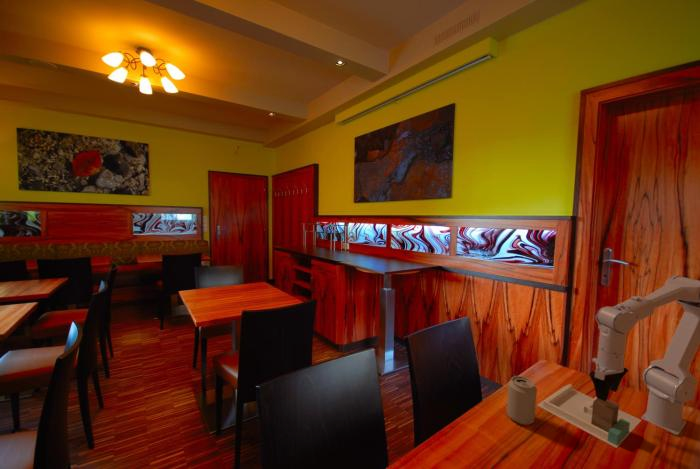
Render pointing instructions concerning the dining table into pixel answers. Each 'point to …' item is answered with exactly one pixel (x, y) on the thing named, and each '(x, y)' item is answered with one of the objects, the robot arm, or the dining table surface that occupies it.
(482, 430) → the dining table surface
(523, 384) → the can
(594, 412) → the brown rectangular block
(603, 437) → the white tray
